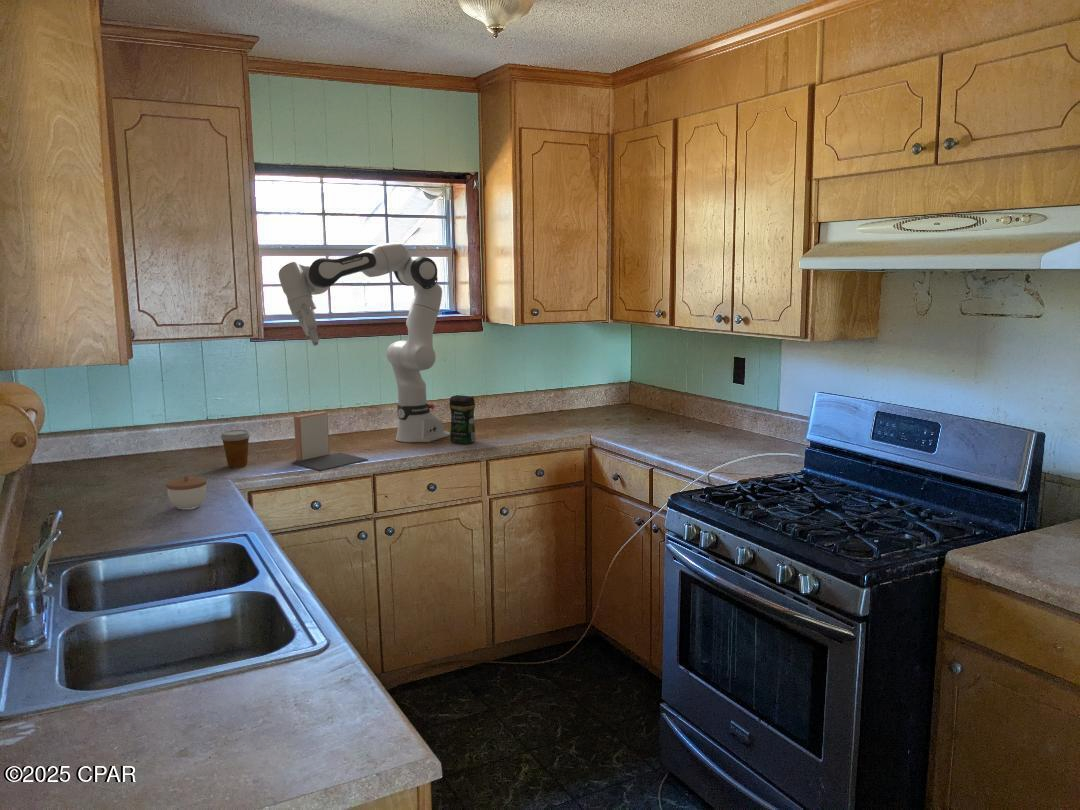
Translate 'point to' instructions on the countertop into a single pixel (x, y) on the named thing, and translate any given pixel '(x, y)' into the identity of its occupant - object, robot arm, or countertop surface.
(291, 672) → the countertop surface
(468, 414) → the coffee jar
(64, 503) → the countertop surface
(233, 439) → the disposable coffee cup
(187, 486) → the lidded jar
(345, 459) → the mat
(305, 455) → the tile
